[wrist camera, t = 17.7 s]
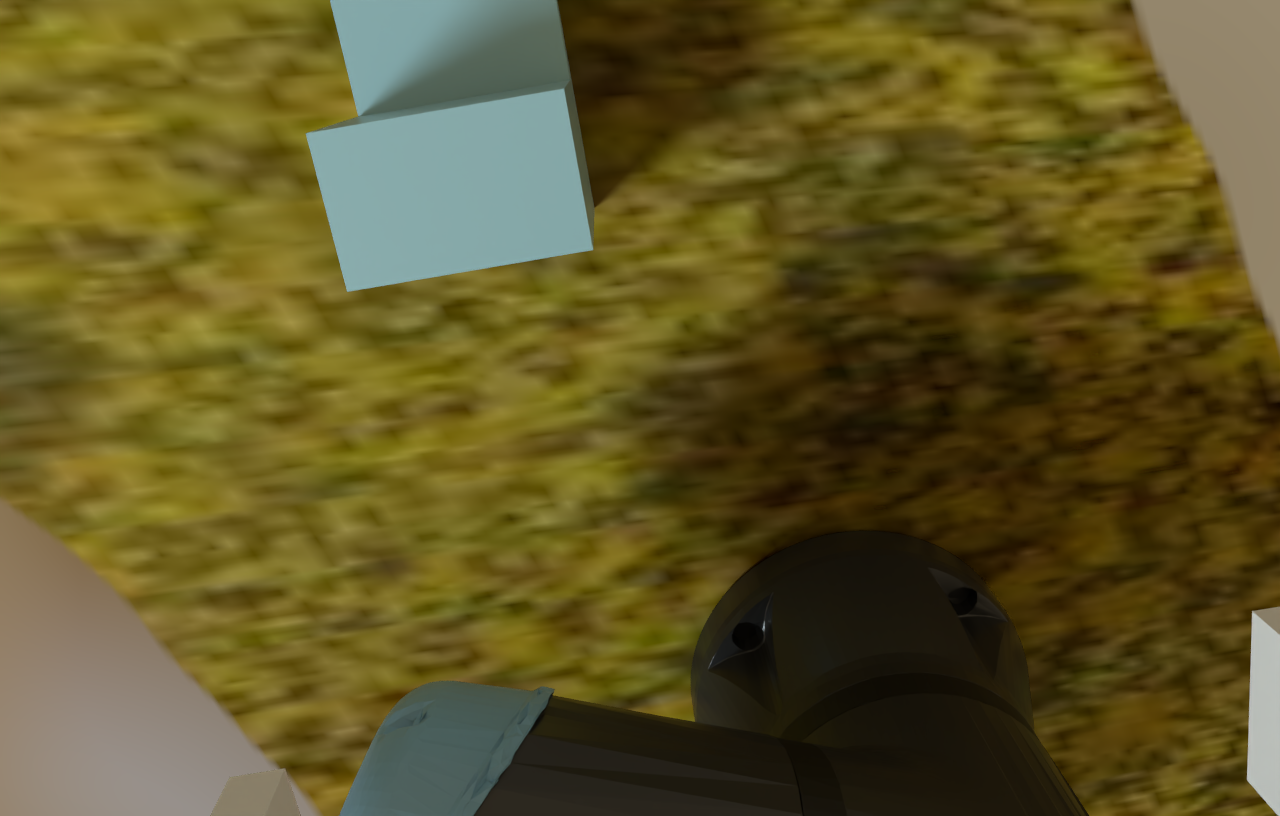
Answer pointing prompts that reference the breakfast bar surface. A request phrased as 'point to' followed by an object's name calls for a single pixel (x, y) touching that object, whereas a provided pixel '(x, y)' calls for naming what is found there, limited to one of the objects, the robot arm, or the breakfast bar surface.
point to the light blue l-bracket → (453, 140)
